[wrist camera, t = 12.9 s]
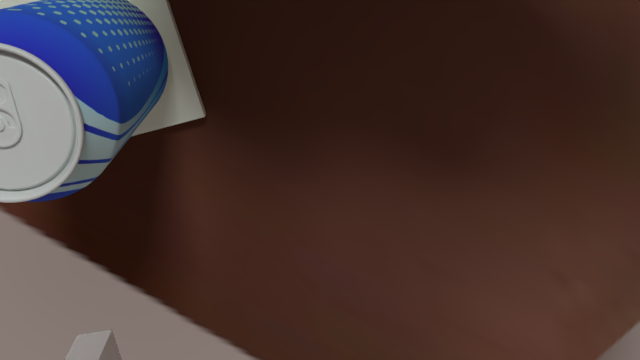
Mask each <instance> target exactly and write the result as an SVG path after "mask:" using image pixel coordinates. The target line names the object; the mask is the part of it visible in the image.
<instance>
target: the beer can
mask: <svg viewBox="0 0 640 360" xmlns="http://www.w3.org/2000/svg"><path fill="white" fill-rule="evenodd" d="M167 77H168V57H167V52H166V48H165V45H164V42H163V39H162V37H161V35H160V33H159V31H158V30H157V28H156V27H155V25H154V24H153V22H152V21H151V20H150V19H149V18H148V16H147V15H146V14H145V13H144V12H142V11H141V10H140V9H139V8H138V7H136V6H135V5H133V4H132V3H130V2H128V1H127V0H40V1H35V2H31V3H26V4H21V5H17V6H12V7H8V8H3V9H0V202H4V203H15V202H41V201H49V200H55V199H59V198H63V197H66V196H68V195H71V194H73V193H75V192H77V191H79V190H81V189H83V188H84V187H86V186H87V185H89V184H90V183H91V182H92V181H94V180H95V179H96V178H97V177H98V176H99V175H100V174H101V173H102V172H103V171H104V169H105V168H106V167H107V166H108V164H109V163H110V162H111V161H112V159H113V158H114V157H115V155H116V154H117V153H118V152H119V150H120V149H121V148H122V147H123V145H124V144H125V143H126V142H127V140H128V139H129V138H130V136H131V135H132V134H133V133H134V131H135V130H136V129H137V128H138V126H139V125H140V124H141V123H142V121H143V120H144V119H145V117H146V116H147V115H148V114H149V112H150V111H151V110H152V109H153V107H154V106H155V105H156V104H157V102H158V101H159V99H160V97H161V95H162V94H163V91H164V89H165V86H166V82H167Z"/></svg>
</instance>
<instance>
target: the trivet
mask: <svg viewBox="0 0 640 360" xmlns="http://www.w3.org/2000/svg"><path fill="white" fill-rule="evenodd" d="M35 1H40V0H0V9H3V8H8V7H12V6H17V5H21V4H26V3H31V2H35ZM127 1H128V2H130V3H132V4H133V5H135V6H136V7H138V8H139V9H140V10H141V11H142V12H144V13H145V14H146V15H147V16H148V18H149V19H150V20H151V21H152V22H153V24H154V25H155V27H156V28H157V30H158V31H159V33H160V35H161V37H162V39H163V42H164V45H165V48H166V52H167V57H168V77H167V82H166V86H165V89H164V91H163V94H162V95H161V97H160V99H159V101H158V102H157V104H156V105H155V106H154V107H153V109H152V110H151V111H150V112H149V114H148V115H147V116H146V117H145V119H144V120H143V121H142V123H141V124H140V125H139V126H138V128H137V129H136V130H135V131H134V133H133V134H132V135H131V136H135V135H138V134H142V133H146V132H150V131H153V130H157V129H161V128H165V127H169V126H172V125H176V124H180V123H184V122H187V121H191V120H195V119H199V118H203V117H205V115H206V112H205V109H204V106H203V103H202V100H201V97H200V94H199V91H198V88H197V85H196V82H195V79H194V76H193V73H192V70H191V67H190V64H189V61H188V58H187V55H186V52H185V49H184V46H183V43H182V40H181V37H180V34H179V31H178V28H177V25H176V22H175V19H174V16H173V13H172V10H171V7H170V4H169V1H168V0H127ZM131 136H130V137H131Z"/></svg>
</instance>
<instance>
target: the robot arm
mask: <svg viewBox="0 0 640 360" xmlns="http://www.w3.org/2000/svg"><path fill="white" fill-rule="evenodd" d="M65 360H122V359H121V356H120V353H119V350H118V347H117V344H116V341H115V338H114V334H113V332H112V330H105V331H100V332H93V333H87V334H81V335H77V337H76V339H75V341H74V343H73V345H72V347H71V349H70V351H69V353H68V355H67V356H66V358H65Z"/></svg>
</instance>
